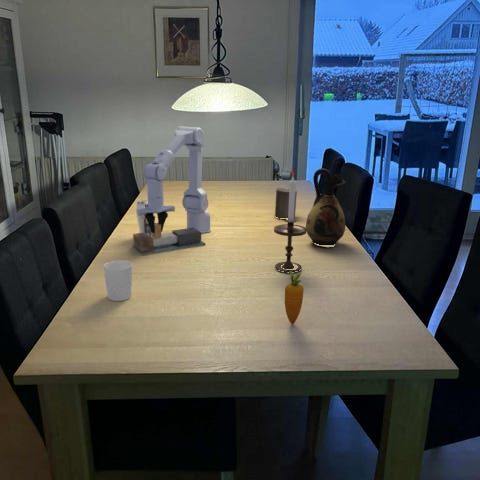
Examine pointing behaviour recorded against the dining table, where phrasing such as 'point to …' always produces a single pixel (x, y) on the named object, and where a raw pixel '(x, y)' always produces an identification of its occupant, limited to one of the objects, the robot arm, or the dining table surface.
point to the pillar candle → (283, 202)
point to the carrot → (293, 298)
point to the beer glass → (143, 219)
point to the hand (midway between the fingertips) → (156, 231)
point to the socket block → (143, 242)
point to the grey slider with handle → (163, 237)
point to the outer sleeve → (185, 239)
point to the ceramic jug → (326, 212)
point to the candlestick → (290, 230)
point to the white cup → (118, 280)
